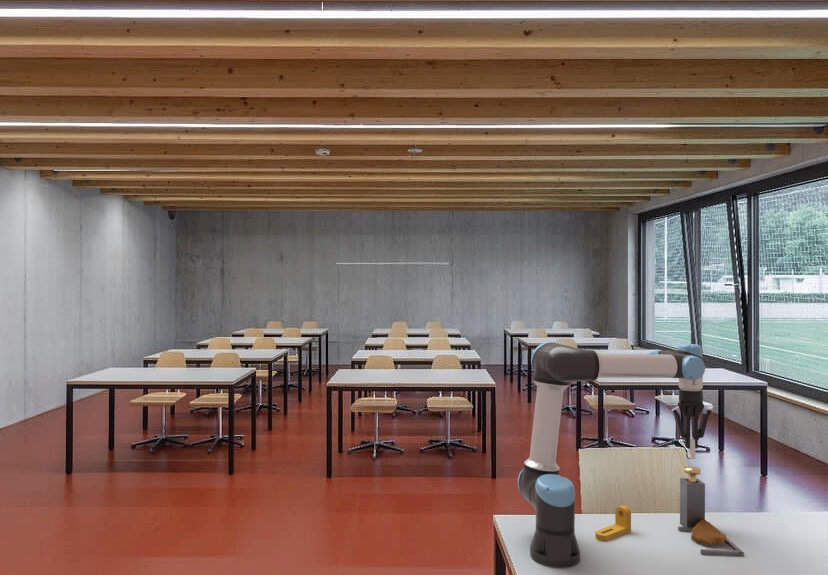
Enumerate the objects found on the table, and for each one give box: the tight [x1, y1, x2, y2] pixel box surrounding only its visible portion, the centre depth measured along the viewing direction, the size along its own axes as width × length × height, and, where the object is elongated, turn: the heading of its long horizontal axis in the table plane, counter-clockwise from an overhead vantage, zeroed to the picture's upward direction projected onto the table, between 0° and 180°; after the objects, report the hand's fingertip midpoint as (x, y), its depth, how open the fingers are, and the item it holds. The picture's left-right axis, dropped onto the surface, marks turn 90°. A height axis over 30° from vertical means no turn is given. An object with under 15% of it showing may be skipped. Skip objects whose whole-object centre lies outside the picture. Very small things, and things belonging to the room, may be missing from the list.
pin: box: [683, 465, 702, 483], centre depth 203 cm, size 5×5×8 cm
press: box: [677, 477, 745, 557], centre depth 193 cm, size 13×25×16 cm, turn 177°
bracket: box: [594, 505, 632, 542], centre depth 196 cm, size 15×4×8 cm, turn 126°
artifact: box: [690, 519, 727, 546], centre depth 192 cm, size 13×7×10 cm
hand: (691, 457), depth 200 cm, fingers closed
